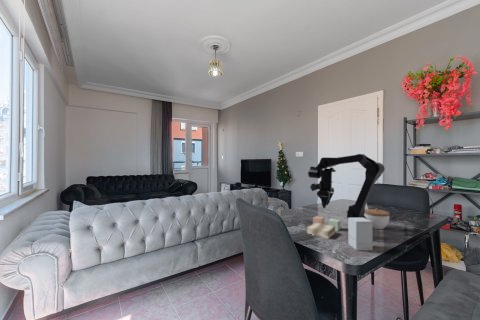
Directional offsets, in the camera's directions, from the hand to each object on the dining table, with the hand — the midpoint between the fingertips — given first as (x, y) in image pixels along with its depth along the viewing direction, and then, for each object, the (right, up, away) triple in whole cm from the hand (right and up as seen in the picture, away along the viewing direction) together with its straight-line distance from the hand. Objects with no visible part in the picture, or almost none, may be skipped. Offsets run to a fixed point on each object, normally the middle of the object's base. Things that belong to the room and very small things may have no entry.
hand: (325, 206), depth 126 cm
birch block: (-6, -13, -9) cm, 17 cm away
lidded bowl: (+31, -13, +2) cm, 33 cm away
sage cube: (+5, -13, -1) cm, 14 cm away
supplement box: (+5, -13, -27) cm, 30 cm away
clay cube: (-2, -13, +5) cm, 14 cm away
